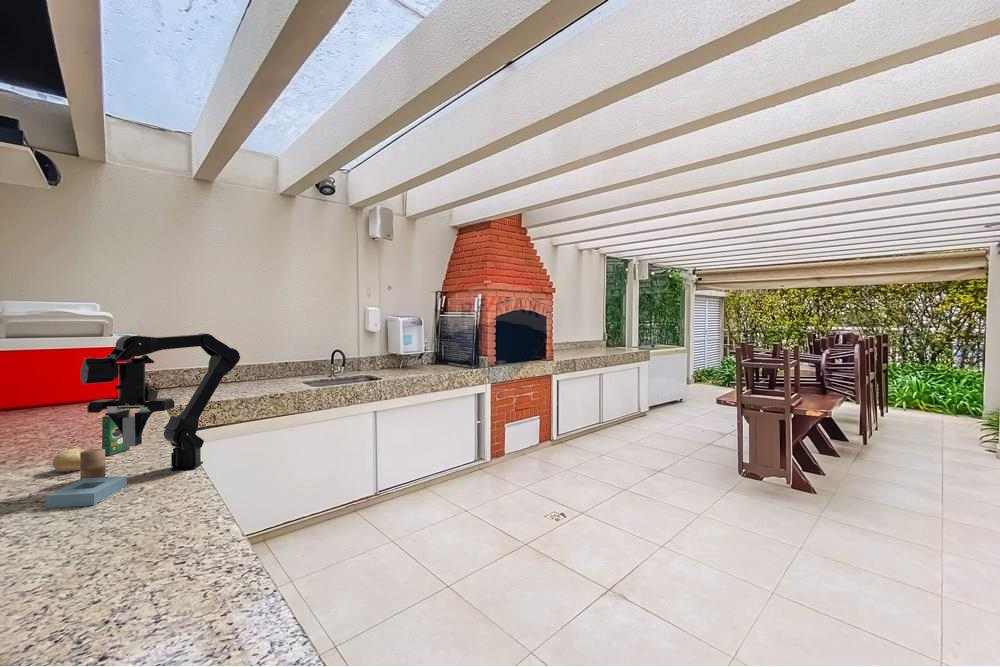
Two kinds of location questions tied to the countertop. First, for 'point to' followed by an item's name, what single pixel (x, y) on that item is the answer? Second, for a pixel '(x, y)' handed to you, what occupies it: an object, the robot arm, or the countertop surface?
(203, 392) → the robot arm
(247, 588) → the countertop surface
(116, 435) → the coffee box
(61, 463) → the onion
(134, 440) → the square peg
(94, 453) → the round peg
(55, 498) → the socket board
